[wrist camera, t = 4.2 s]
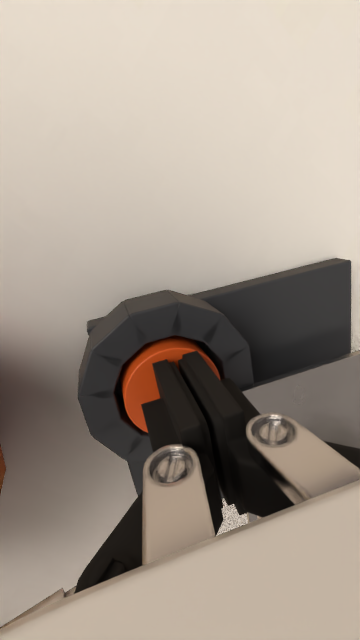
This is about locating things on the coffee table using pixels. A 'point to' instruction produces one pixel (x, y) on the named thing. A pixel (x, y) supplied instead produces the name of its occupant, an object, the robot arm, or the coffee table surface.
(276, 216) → the coffee table surface
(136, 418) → the button
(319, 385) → the plate
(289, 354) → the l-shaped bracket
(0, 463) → the apple
